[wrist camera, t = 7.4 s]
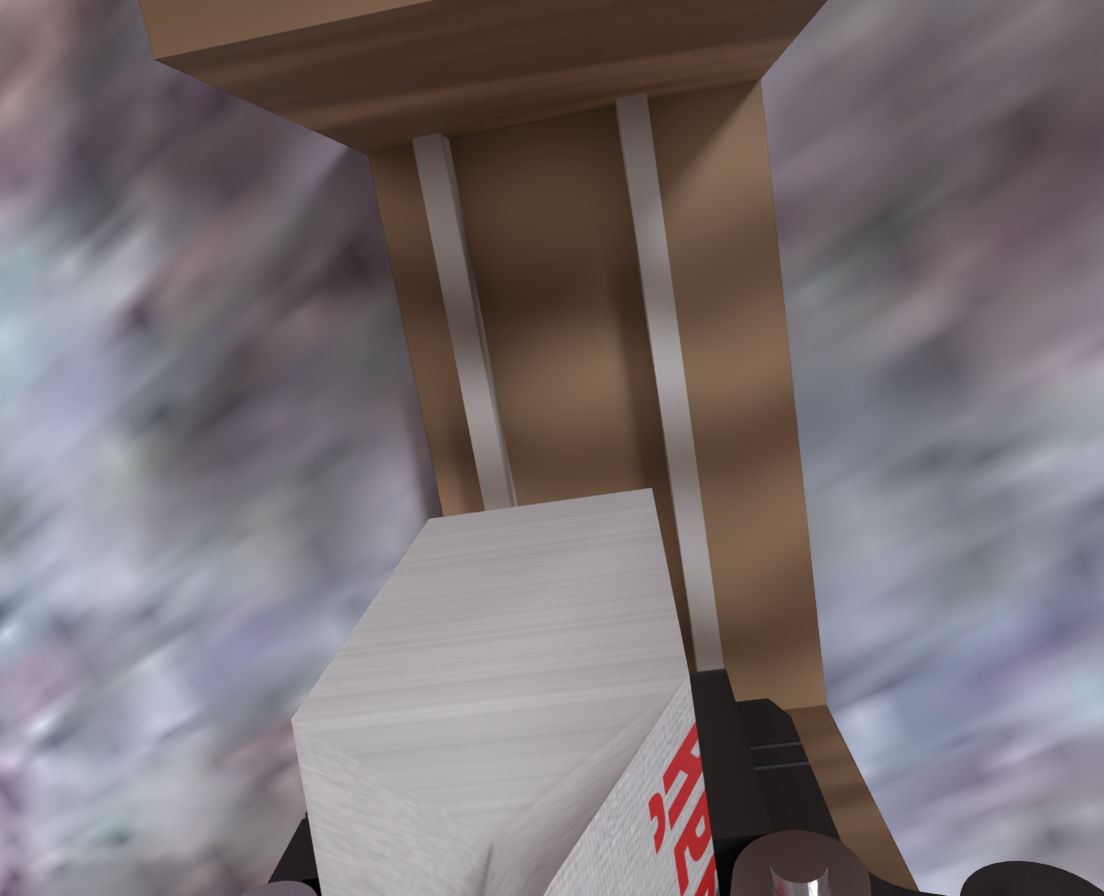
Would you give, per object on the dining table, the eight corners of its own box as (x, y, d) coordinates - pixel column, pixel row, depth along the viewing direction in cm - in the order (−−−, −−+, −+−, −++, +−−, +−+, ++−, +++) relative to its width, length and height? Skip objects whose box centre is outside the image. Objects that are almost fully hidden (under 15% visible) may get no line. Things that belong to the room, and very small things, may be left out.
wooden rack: (370, 118, 30) (132, -27, 15) (747, 43, 28) (908, -202, 13) (501, 753, 36) (425, 1113, 21) (820, 717, 34) (989, 1075, 19)
